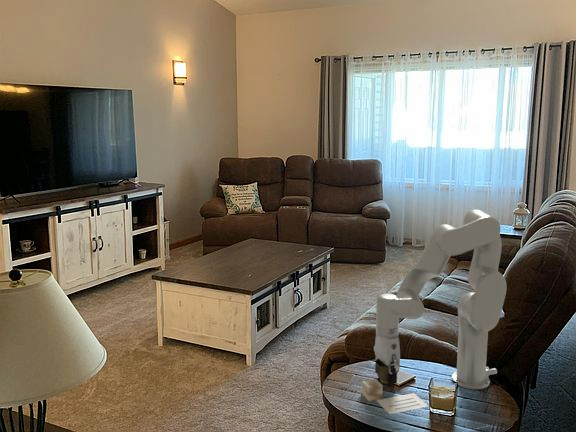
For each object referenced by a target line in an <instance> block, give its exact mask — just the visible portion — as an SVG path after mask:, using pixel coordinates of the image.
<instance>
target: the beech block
mask: <svg viewBox="0 0 576 432" xmlns="http://www.w3.org/2000/svg"><path fill="white" fill-rule="evenodd" d="M383 386H384V384H382V383H381V381H379V380H378V379H376V378H371V379H366V380H362V381H361V395H362V396H363V397H364V398H365V399H366V400H367V401H368V402H372V401H376V400H381V399H383V395H384V394H383V389H384V387H383Z"/></svg>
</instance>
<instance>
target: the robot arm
mask: <svg viewBox="0 0 576 432" xmlns="http://www.w3.org/2000/svg"><path fill="white" fill-rule="evenodd" d="M463 217H464V218H463V225H462V226H458V227H455V226H452V225H451V224H447V223H443V224H440V225H438V226H436V227H435V229H434V230H433V232H432V233H431V236H430V237H429V240H428V241H427V244H426V246H425V247H424V249H423V251H422V253H421V255H420V257H419V259H418V260H417V262H416V264H414V266H412V268H411V269H410V270H408V272H407V274H406V275H405V276H404V278H403V280H402V282H401V284H400V286H399V288H398V290H397V292H396V294H395V293H394V294H393V293H389V292H388V293H381V294H379V295H378V296H377V298H376V312H375V313H376V320H375V322H376V323H375V339H374V340H375V341H374V346H373V351H374V361H375V362H374V363H375V367H374V368H375V369H374V371H375V373H376V374H377V371H376V359H379V360H380V361H382V362H383V363H384V364H385V365H387V366H388V370H389V373H388V384H387V385H389V386H390V385H394V384H397V383H398V373H399V371H400V369H401V349H400V347H401V346H400V338H399V324H400V323H399V322H400V320H399V319H406V320H417V319H420V318H421V317H422V316H423V315H424V312H425V306H424V304H423V301H422V300H421V299H420V297H419V296H420V294H421V292H422V290H423V288H424V287H425V285H426V284H427V283H428V282H429V281H430V280H431V279H433V278H434V279H435V278H437V277H439V276H441V275H442V273H443V271H444V269H445V268H446V265H447V263H448V262H449V260H450V258H451V256H452V257H453V256H458V255H462V254H465V253H468V252H469V251H470V252H471V251H473V255H472V259H471V263H470V267H469V271H468V274H467V281H468V284H469V286H471V288H472V289H473V290H474V291H475V292H474V291H469V292H466V293H464V294H463V295H462V296H461V297H460V299H459V301H458V304H457V317H458V318H457V319H458V335H457V336H458V337H457V356H456V357H457V358H456V359H457V360H456V371H455V372H453V373H452V374H451V380H453V381H455V382H458V385H459V386H458V385H457V386H458V387H460V388H463V389H467V390H483V389H486V388H488V387H489V386H490V384H491V383H490V382H491V380H490V378H489V376H490V375H497V373H498V370H497V368H496V367H494V368H490V367H489V366H487V356H488V355H487V354H488V340H489V332H490V331H491V330H493V329H494V328H496V326H497V325H498V323H499V321H500V318H501V314H502V310H503V306H504V303H505V299H506V294H507V281H506V278H505V277H504V275H503V273H501V272H500V271H499V267H500V266H499V265H500V262H501V261H500V260H501V255H502V250H503V249H502V245H503V243H502V238H501V235H500V233H501V224H500V222H499V220H498V219H497V218H496V217H494V216H493V215H491V214H489V213H487V212H485V211H483V210H481V209H476V208H475V209H470V210H469V211H467V212H466V214H465V215H464V216H463ZM391 362H393V364H390V363H391ZM391 366H394V368H393V369H392V370H391ZM453 381H452V382H453Z"/></svg>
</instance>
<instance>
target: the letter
mask: <svg viewBox="0 0 576 432" xmlns="http://www.w3.org/2000/svg"><path fill="white" fill-rule="evenodd" d="M375 401H376V402H377V403H378V404H379V405H380V406H381V407H382V408H383V409H384V410H385V411H386V412H387V413H388V414H389V415H392V414H398V413H403V412H408V411H412V410H417V409H423V408H427V407H429V405H428V404H427V403H426V402H425V401H424V400H422V399H421V398H420V397H419V396H418V395H417V394H416V393H414V392H412V393H407V394H403V395H397V396H392V397H388V398H387V397H386V398H382V399H377V400H375Z"/></svg>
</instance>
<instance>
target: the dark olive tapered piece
mask: <svg viewBox="0 0 576 432" xmlns="http://www.w3.org/2000/svg"><path fill="white" fill-rule="evenodd" d="M375 363H376V371H377V373H376V375H377V377H378V378H379V380H380V383H381V384H382V385H385V386H386V385H387V386H388V385H389V384H388V373H389V370H388V366H387V365H385V364H384V363H383V362H382V361H380V360H379V359H376V361H375ZM390 364H393V362H391V363H390ZM393 368H394V366H391V370H392V369H393Z"/></svg>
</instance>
